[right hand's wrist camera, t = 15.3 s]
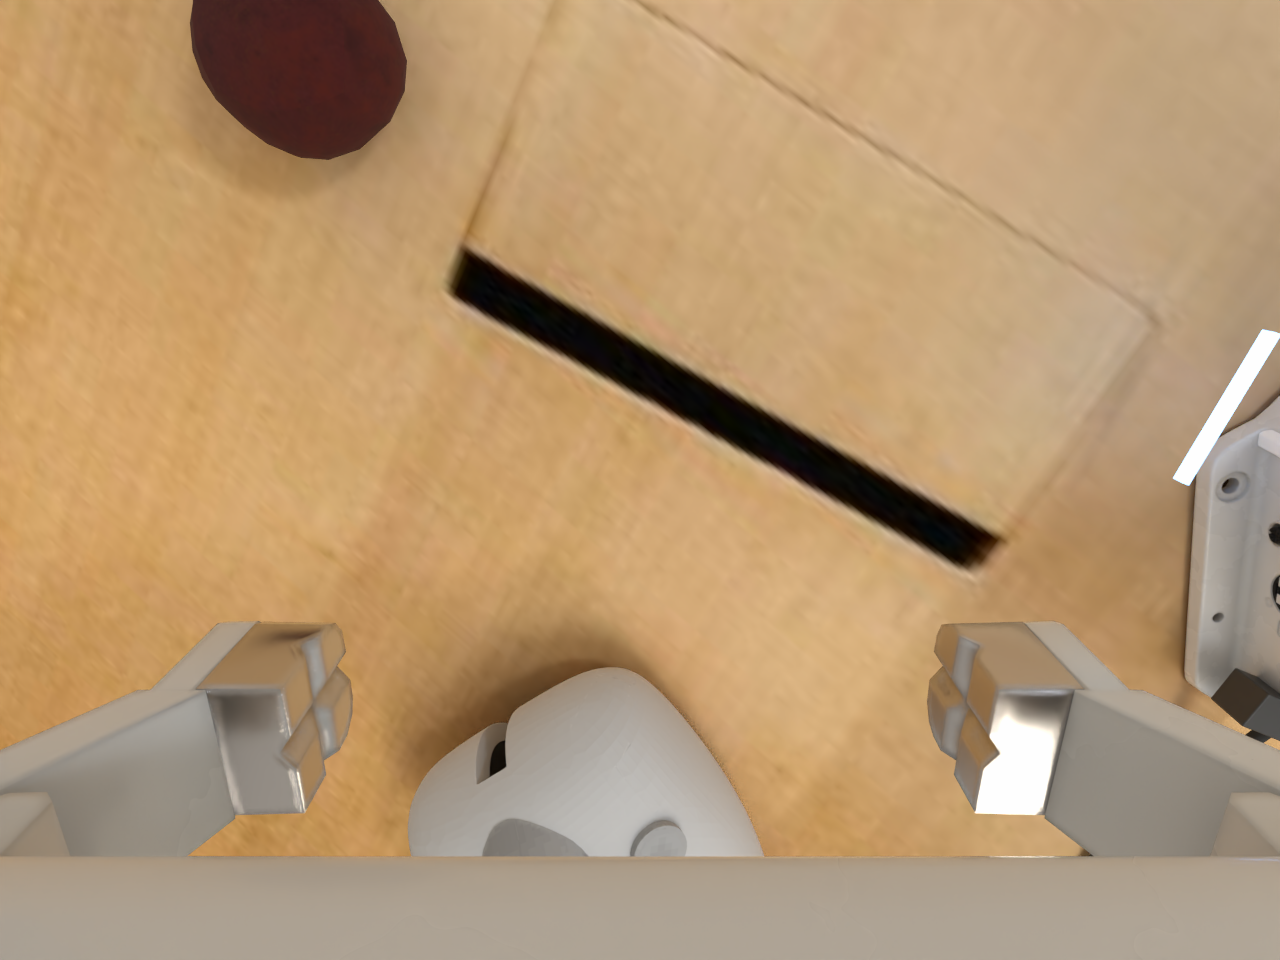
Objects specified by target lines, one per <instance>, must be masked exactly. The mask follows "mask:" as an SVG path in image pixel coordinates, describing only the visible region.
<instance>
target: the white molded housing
mask: <svg viewBox="0 0 1280 960" xmlns="http://www.w3.org/2000/svg"><path fill="white" fill-rule="evenodd" d="M408 838H409V846H410V852H411V856H764V854H763V851H762V848H761V845H760V842H759V840H758V837H757V835H756V832H755V830H754V827H753V825H752V823H751V821H750V819H749V816H748V814H747V812H746V810H745V808H744V806H743V804H742V803H741V801H740V799H739V797H738V795H737V794H736V792H735V790H734V788H733V786H732V785H731V783H730V782H729V780H728V778H727V777H726V775H725V774H724V772H723V771H722V769H721V767H720V766H719V764H718V763H717V761H716V760H715V759H714V757H713V756H712V754H711V753H710V751H709V750H708V749H707V747H706V746H705V745H704V743H703V742H702V740H701V739H700V738H699V736H698V735H697V734H696V732H695V731H694V730H693V729H692V727H691V726H690V725H689V724H688V722H687V721H686V720H685V719H684V717H683V716H682V715H681V714H680V713H679V712H678V710H677V709H676V708H675V707H674V706H673V705H672V704H671V702H670V701H669V700H668V699H667V698H666V697H665V696H664V695H663V694H662V693H661V692H660V691H659V690H658V689H657V688H656V687H654V686H653V685H652V684H651V683H650V682H648V681H647V680H646V679H645V678H643V677H642V676H640V675H639V674H637V673H635V672H633V671H631V670H628V669H624V668H619V667H606V668H599V669H594V670H590V671H587V672H583V673H581V674H578V675H576V676H574V677H571V678H569V679H567V680H565V681H563V682H561V683H560V684H558V685H556V686H554V687H552V688H550V689H549V690H547V691H545V692H543V693H542V694H540V695H538V696H537V697H535V698H533V699H532V700H530V701H528V702H527V703H525V704H523V705H522V706H520V707H519V708H517V709H516V710H515V711H514V713H513V714H512V716H511V718H510V720H509V723H495V724H492V725H490V726H488V727H486V728H485V729H483V730H482V731H480V732H479V733H477V734H476V735H474V736H472V737H471V738H469V739H468V740H466V741H465V742H463V743H462V744H460V745H459V746H458V747H456V748H455V749H453V750H452V751H451V752H449V753H448V754H447V755H446V756H444V757H443V758H442V759H441V760H440V761H438V762H437V763H436V764H435V765H434V766H433V767H432V768H431V769H430V771H429V772H428V773H427V774H426V776H425V777H424V779H423V780H422V782H421V784H420V786H419V787H418V789H417V791H416V794H415V796H414V799H413V801H412V804H411V808H410V813H409V821H408Z"/></svg>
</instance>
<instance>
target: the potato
mask: <svg viewBox="0 0 1280 960" xmlns="http://www.w3.org/2000/svg"><path fill="white" fill-rule="evenodd" d="M190 28H191V38H192V49H193V53H194V56H195V59H196V62H197V65H198V67H199V70H200V73H201V76H202V78H203V80H204V81H205V83H206V84H207V86H208V88H209V89H210V91H211V92H212V94H213V95H214V97H215V99H216V100H217V101H218V102H219V103H220V104H221V105H222V106H223V107H224V108H225V109H226V110H227V111H228V112H229V113H230V114H231V115H233V116H234V117H235V118H236V119H237V120H238V121H239V122H240V123H241V124H242V125H243V126H244V127H246V128H247V129H248V130H250V131H251V132H252V133H254V134H255V135H256V136H258V137H259V138H260V139H262V140H263V141H264V142H266V143H267V144H269V145H272V146H274V147H276V148H279V149H281V150H283V151H286V152H288V153H290V154H293V155H295V156H298V157H301V158H313V159H326V160H329V159H332V158H335V157H338V156H341V155H344V154H347V153H350V152H352V151H355V150H358V149H360V148H361V147H363V146H364V145H365V144H366V143H367V142H368V141H369V140H370V139H371V138H373V137H374V136H375V135H376V134H377V133H378V132H379V131H380V130H381V129H382V128H384V127H385V126H386V125H387V124H388V123H389V122H390V121H391V119H392V117H393V114H394V112H395V110H396V108H397V106H398V104H399V102H400V100H401V98H402V95H403V93H404V91H405V78H406V65H407V60H406V57H405V54H404V51H403V48H402V45H401V41H400V38H399V35H398V32H397V28H396V25H395V22H394V21H393V20H392V18H391V17H390V16H389V14H388V13H387V11H386V10H385V9H384V7H383V6H382V5H381V3H380V2H379V1H378V0H193V7H192V13H191V20H190Z"/></svg>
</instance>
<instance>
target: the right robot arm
mask: <svg viewBox="0 0 1280 960" xmlns="http://www.w3.org/2000/svg"><path fill="white" fill-rule="evenodd" d="M1279 337H1280V334H1279V333H1276V332H1271V331H1267V330H1262V331H1261V333H1260V334H1259V336H1258V338H1257V339H1256V341H1255V343H1254V344H1253V346H1252V348H1251V349H1250V351H1249V353H1248V354H1247V356H1246V358H1245V359H1244V361H1243V363H1242V364H1241V366H1240V368H1239V369H1238V371H1237V373H1236V374H1235V376H1234V378H1233V379H1232V381H1231V383H1230V384H1229V386H1228V387H1227V389H1226V391H1225V392H1224V394H1223V396H1222V397H1221V399H1220V401H1219V402H1218V404H1217V406H1216V407H1215V409H1214V411H1213V412H1212V414H1211V416H1210V417H1209V419H1208V421H1207V422H1206V424H1205V426H1204V427H1203V429H1202V431H1201V432H1200V434H1199V436H1198V437H1197V439H1196V441H1195V442H1194V444H1193V446H1192V447H1191V449H1190V451H1189V452H1188V454H1187V456H1186V457H1185V459H1184V461H1183V462H1182V464H1181V466H1180V467H1179V469H1178V471H1177V472H1176V474H1175V476H1174V477H1173V478H1174V479H1175V480H1177V481H1179V482H1181V483H1183V484H1186V485H1190V483H1191V481H1192V480H1193V478H1194V476H1195V475H1196V487H1195V503H1194V519H1193V535H1192V551H1191V567H1190V583H1189V599H1188V615H1187V631H1186V648H1185V666H1184V672H1185V679H1186V681H1187V682H1188V683H1189V684H1191V685H1192V686H1194V687H1195V688H1197V689H1198V690H1199V691H1201V692H1202V693H1204V694H1206V695H1207V696H1209V697H1210V698H1211V699H1212V700H1213V701H1214V702H1215V703H1216V704H1218V705H1219V706H1220V707H1221V708H1222V709H1223V710H1224V711H1226V712H1227V713H1228V714H1229V715H1230V716H1231V717H1233V718H1234V719H1235V720H1236V721H1237V722H1238V723H1239V724H1241V725H1242V726H1244V727H1246V728H1249V729H1251V731H1250V732H1249V733H1247V734H1246V735H1244V734H1241V733H1239V732H1237V731H1234V730H1232V729H1230V728H1228V727H1225V726H1223V725H1221V724H1218V723H1216V722H1214V721H1212V720H1209V719H1207V718H1205V717H1202V716H1200V715H1198V714H1196V713H1193V712H1191V711H1189V710H1187V709H1184V708H1182V707H1180V706H1177V705H1175V704H1173V703H1171V702H1168V701H1166V700H1164V699H1161V698H1159V697H1157V696H1155V695H1152V694H1150V693H1148V692H1145V691H1143V690H1129V689H1128V688H1127V687H1126V686H1125V685H1124V684H1123V683H1122V682H1121V681H1120V680H1119V679H1118V678H1117V677H1116V676H1115V675H1114V674H1113V673H1112V672H1111V671H1110V670H1109V669H1108V668H1107V667H1106V666H1105V665H1104V664H1103V663H1102V662H1101V661H1100V660H1099V659H1098V658H1097V657H1096V656H1095V655H1094V654H1093V653H1092V652H1091V651H1090V650H1089V649H1088V648H1087V647H1086V646H1085V645H1084V644H1083V643H1082V642H1081V641H1080V640H1079V639H1078V638H1077V637H1076V636H1075V635H1074V634H1073V633H1072V632H1071V631H1070V630H1069V629H1068V628H1067V627H1066V626H1065V625H1064V624H1061V623H1058V622H1055V621H1037V622H1002V623H962V624H943V625H941V627H940V630H939V632H938V634H937V637H936V643H935V649H934V652H935V654H936V656H937V657H938V659H939V660H940V662H941V663H942V665H943V667H942V668H941V669H940V670H939V671H938V672H937V673H936V674H935V675H934V676H933V677H932V678H931V679H930V681H929V690H928V698H927V705H928V716H929V723H930V726H931V730H932V733H933V736H934V738H935V740H936V742H937V744H938V746H939V748H940V750H941V751H943V752H944V753H946V754H947V755H949V756H950V757H952V758H953V759H955V760H956V766H955V772H954V775H955V777H956V779H957V781H958V783H959V784H960V786H961V788H962V790H963V792H964V793H965V795H966V797H967V799H968V801H969V802H970V804H971V806H972V808H973V809H974V811H975V813H990V814H1027V815H1045V819H1046V820H1048V821H1049V822H1050V823H1052V824H1053V825H1054V826H1055V827H1057V828H1058V829H1059V830H1061V831H1062V832H1063V833H1064V834H1066V835H1067V836H1068V837H1070V838H1071V839H1072V840H1073V841H1075V842H1076V843H1077V844H1078V845H1080V846H1081V847H1082V848H1084V849H1085V850H1086V851H1087V852H1089V853H1090V855H1089V856H188V855H189V854H190V853H191V852H193V851H194V850H195V849H197V848H198V847H199V846H200V845H202V844H203V843H204V842H206V841H207V840H208V839H209V838H211V837H212V836H213V835H215V834H216V833H217V832H218V831H220V830H221V829H222V828H224V827H225V826H226V825H227V824H229V823H230V822H231V821H233V820H234V819H235V815H252V814H288V813H305V811H306V810H307V808H308V806H309V804H310V802H311V801H312V799H313V797H314V795H315V793H316V792H317V790H318V788H319V786H320V784H321V783H322V781H323V779H324V777H325V775H326V772H325V766H324V760H325V759H327V758H328V757H330V756H331V755H333V754H334V753H336V752H337V751H339V750H340V748H341V746H342V744H343V742H344V740H345V738H346V736H347V734H348V730H349V725H350V721H351V717H352V700H353V695H352V688H351V681H350V679H349V678H348V677H347V676H346V675H345V674H344V673H343V672H342V671H341V670H340V669H339V668H338V667H337V665H338V663H339V662H340V660H341V659H342V657H343V656H344V654H345V652H346V649H345V644H344V639H343V634H342V630H341V629H340V628H339V627H338V626H337V625H336V623H305V622H260V621H238V622H223V623H218V624H217V625H216V626H215V627H214V628H213V629H212V630H211V631H210V632H209V633H208V634H207V635H206V636H205V637H204V638H203V639H202V640H201V641H199V642H198V643H197V644H196V645H195V646H194V647H193V648H192V649H191V650H190V651H189V652H188V653H187V654H186V655H185V656H184V657H183V658H182V659H181V660H180V661H179V662H178V663H177V664H176V665H175V666H174V667H173V668H172V669H171V670H170V671H169V672H168V673H167V674H166V675H165V676H164V677H163V678H162V679H161V680H160V681H159V682H158V683H157V684H156V685H155V686H154V687H153V688H152V689H151V690H137V691H135V692H132V693H130V694H128V695H125V696H123V697H121V698H119V699H116V700H114V701H112V702H109V703H107V704H105V705H103V706H100V707H98V708H96V709H93V710H91V711H89V712H87V713H84V714H82V715H80V716H77V717H75V718H73V719H71V720H68V721H66V722H64V723H61V724H59V725H57V726H54V727H52V728H50V729H48V730H45V731H43V732H41V733H38V734H36V735H34V736H32V737H29V738H27V739H25V740H22V741H20V742H18V743H16V744H13V745H11V746H9V747H6V748H4V749H2V750H0V960H1280V750H1278V749H1275V748H1273V747H1271V746H1269V745H1266V744H1264V742H1265V741H1267V740H1268V739H1270V738H1274V739H1276V740H1279V741H1280V395H1279V396H1278V397H1277V398H1276V399H1275V400H1274V401H1273V402H1272V403H1271V404H1270V406H1268V407H1267V408H1266V409H1265V410H1264V411H1263V412H1262V413H1261V414H1259V415H1258V416H1257V417H1255V418H1254V419H1252V420H1250V421H1248V422H1246V423H1244V424H1242V425H1241V426H1239V427H1237V428H1235V429H1233V430H1231V431H1229V432H1228V433H1226V434H1224V435H1222V436H1221V437H1219V435H1220V434H1221V432H1222V431H1223V429H1224V427H1225V426H1226V424H1227V422H1228V421H1229V419H1230V417H1231V416H1232V414H1233V413H1234V411H1235V409H1236V408H1237V406H1238V404H1239V403H1240V401H1241V399H1242V398H1243V396H1244V395H1245V393H1246V391H1247V390H1248V388H1249V386H1250V385H1251V383H1252V381H1253V380H1254V378H1255V377H1256V375H1257V373H1258V372H1259V370H1260V368H1261V367H1262V365H1263V363H1264V362H1265V360H1266V359H1267V357H1268V355H1269V354H1270V352H1271V350H1272V349H1273V347H1274V346H1275V344H1276V342H1277V341H1278V339H1279ZM1218 437H1219V438H1218ZM1227 479H1229V481H1228V483H1227V485H1226V486H1225V487H1223V488H1222V485H1223V483H1224V482H1225V481H1226V480H1227Z"/></svg>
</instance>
